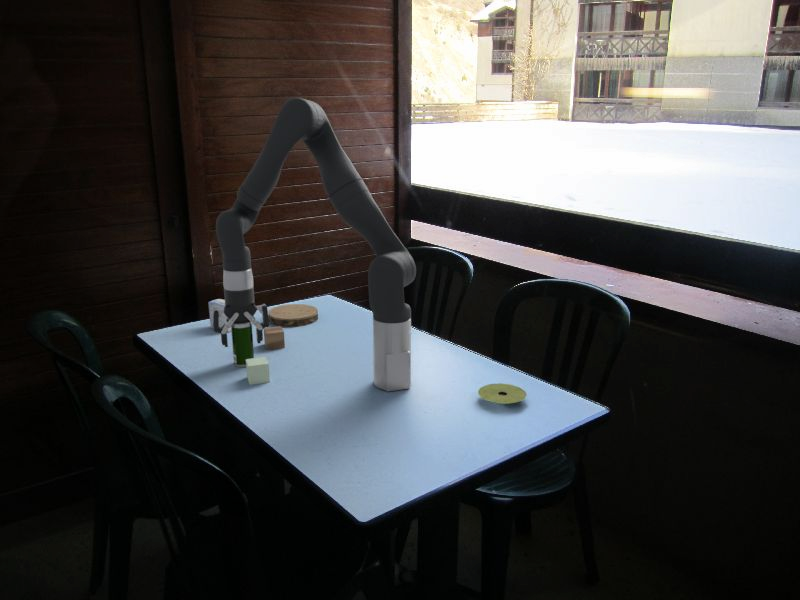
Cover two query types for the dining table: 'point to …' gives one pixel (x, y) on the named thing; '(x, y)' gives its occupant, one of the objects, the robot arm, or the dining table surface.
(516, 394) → the olive yellow disc
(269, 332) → the walnut block
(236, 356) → the beer can
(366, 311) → the dining table surface
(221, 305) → the medicine box
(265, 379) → the sage block
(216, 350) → the dining table surface
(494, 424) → the dining table surface
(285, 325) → the round wood slice
